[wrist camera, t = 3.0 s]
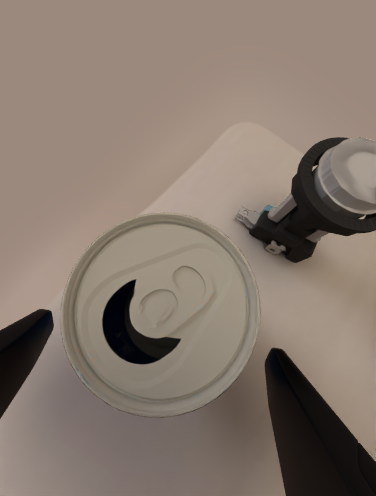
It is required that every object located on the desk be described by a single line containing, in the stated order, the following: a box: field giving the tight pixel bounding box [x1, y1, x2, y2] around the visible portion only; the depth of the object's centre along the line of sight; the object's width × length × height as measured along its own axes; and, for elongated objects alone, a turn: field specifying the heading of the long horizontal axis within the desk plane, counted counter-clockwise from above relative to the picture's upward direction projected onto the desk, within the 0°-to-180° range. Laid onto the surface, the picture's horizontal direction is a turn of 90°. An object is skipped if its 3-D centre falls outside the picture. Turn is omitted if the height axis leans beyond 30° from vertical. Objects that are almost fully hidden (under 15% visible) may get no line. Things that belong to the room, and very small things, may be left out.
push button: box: [235, 137, 376, 263], centre depth 16 cm, size 7×5×10 cm
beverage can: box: [60, 213, 260, 418], centre depth 12 cm, size 6×6×12 cm
